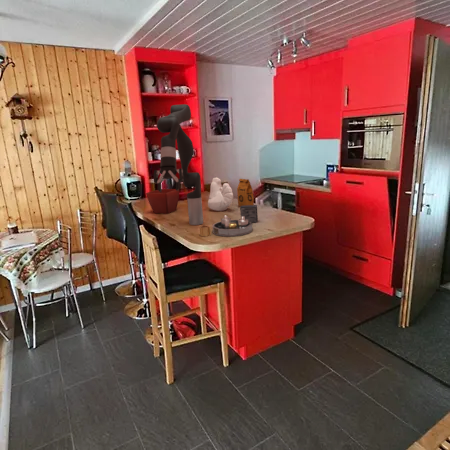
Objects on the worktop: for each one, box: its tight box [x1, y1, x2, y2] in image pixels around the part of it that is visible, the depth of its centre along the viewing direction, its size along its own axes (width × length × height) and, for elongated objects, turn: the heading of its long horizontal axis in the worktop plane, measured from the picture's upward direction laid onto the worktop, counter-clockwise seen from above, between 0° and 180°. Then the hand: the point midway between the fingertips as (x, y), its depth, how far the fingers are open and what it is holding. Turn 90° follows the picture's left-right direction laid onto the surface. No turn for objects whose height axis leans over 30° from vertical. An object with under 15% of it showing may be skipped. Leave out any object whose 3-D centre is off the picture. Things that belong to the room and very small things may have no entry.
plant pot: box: [145, 188, 180, 214], centre depth 265 cm, size 19×19×17 cm
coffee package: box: [236, 178, 255, 208], centre depth 263 cm, size 10×12×22 cm
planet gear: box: [198, 224, 212, 237], centre depth 194 cm, size 6×6×5 cm
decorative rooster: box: [207, 177, 234, 212], centre depth 255 cm, size 25×16×25 cm, turn 26°
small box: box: [239, 204, 259, 224], centre depth 217 cm, size 11×6×10 cm, turn 81°
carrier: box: [212, 215, 253, 238], centre depth 198 cm, size 23×23×8 cm
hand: (168, 191), depth 162 cm, fingers open, 8 cm apart
